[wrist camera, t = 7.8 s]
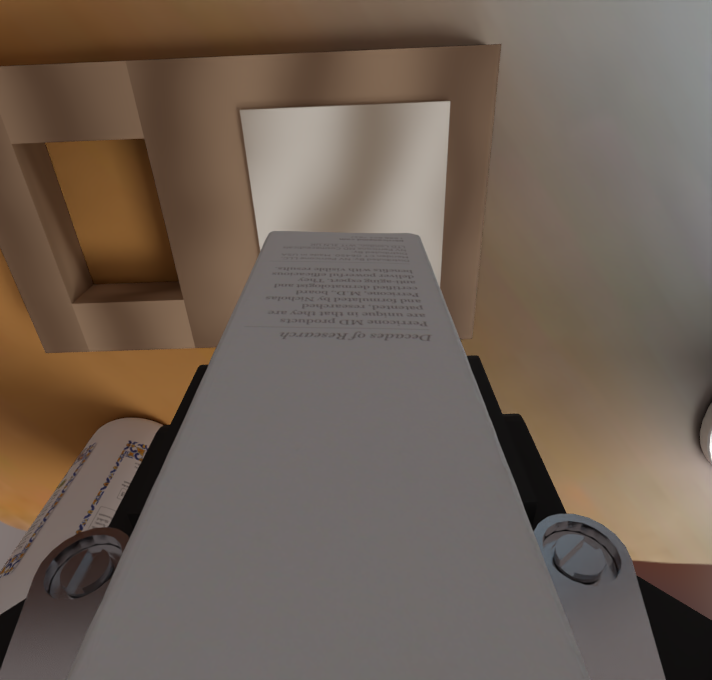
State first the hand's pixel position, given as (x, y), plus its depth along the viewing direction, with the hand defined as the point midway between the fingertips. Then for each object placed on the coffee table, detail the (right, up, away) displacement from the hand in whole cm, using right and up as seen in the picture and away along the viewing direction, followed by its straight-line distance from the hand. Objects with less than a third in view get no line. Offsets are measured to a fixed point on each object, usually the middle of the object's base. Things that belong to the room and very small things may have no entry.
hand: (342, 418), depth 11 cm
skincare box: (0, +2, +4) cm, 5 cm away
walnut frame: (-5, +9, +15) cm, 18 cm away
